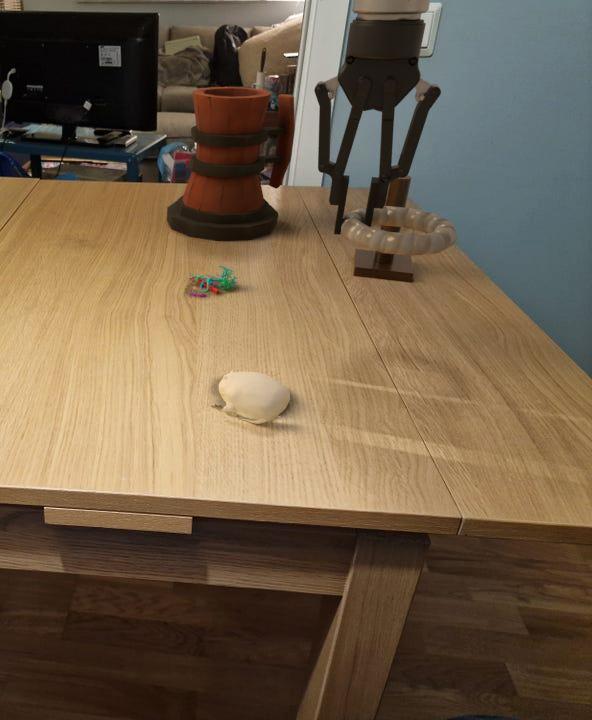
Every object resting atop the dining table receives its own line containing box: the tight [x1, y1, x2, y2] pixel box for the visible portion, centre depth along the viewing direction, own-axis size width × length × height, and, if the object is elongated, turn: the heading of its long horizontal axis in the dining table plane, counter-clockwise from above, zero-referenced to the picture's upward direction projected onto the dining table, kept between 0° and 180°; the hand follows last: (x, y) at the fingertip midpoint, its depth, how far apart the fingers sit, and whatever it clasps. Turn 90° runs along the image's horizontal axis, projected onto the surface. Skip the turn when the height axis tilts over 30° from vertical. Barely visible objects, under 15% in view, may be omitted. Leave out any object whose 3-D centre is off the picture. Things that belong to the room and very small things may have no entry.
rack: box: [352, 174, 415, 283], centre depth 108 cm, size 9×9×16 cm
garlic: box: [210, 370, 291, 425], centre depth 75 cm, size 8×7×4 cm
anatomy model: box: [185, 265, 238, 298], centre depth 101 cm, size 5×8×7 cm
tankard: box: [166, 86, 296, 242], centre depth 128 cm, size 22×25×25 cm
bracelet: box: [341, 206, 458, 257], centre depth 79 cm, size 13×13×2 cm
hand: (351, 231), depth 81 cm, fingers closed on bracelet, 3 cm apart
